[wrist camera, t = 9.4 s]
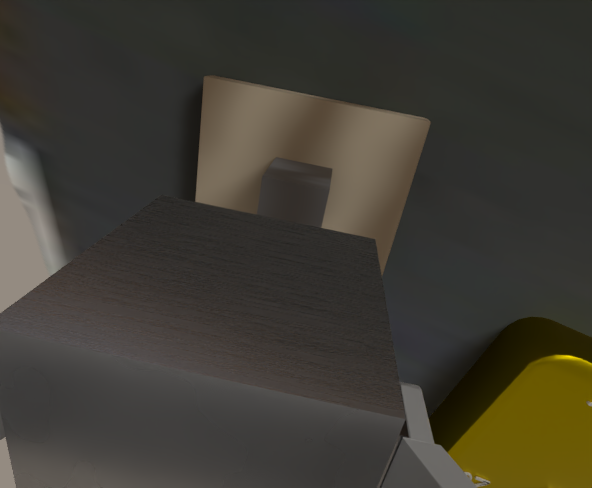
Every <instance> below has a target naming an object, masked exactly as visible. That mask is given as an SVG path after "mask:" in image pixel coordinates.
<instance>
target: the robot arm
mask: <svg viewBox="0 0 592 488" xmlns="http://www.w3.org/2000/svg"><path fill="white" fill-rule="evenodd" d="M399 383H400V389H401V395H402V401H403V406H404V412H405V418H406V420H405V422H404V424H403V427H402V429H401V432H400V434H399V436H398V439H397V441H396V443H395V446H394V448H393V451H392V453H391V455H390V458H389V460H388V462H387V465H386V467H385V470H384V472H383V474H382V477H381V479H380V481H379V484H378V486H377V488H477V487H476V485H475V484H474V483H473V482H472V481H471V480H470V478H469V477H468V476H467V475H466V474H465V473H464V472H463V470H462V469H461V468H460V467H459V466H458V465H457V463H456V462H455V461H454V460H453V459H452V458H451V456H450V455H449V454H448V453H447V452H446V451H445V450H444V448H443V447H442V446H441V445H437V444H434V440H433V436H432V431H431V427H430V423H429V419H428V415H427V411H426V406H425V402H424V398H423V394H422V390H421V388H420V387H419V386H418V385H413V384H408V383H403V382H399ZM4 437H6V436H5V431H4V427H3V422H2V417H1V413H0V440H1V439H3V438H4Z"/></svg>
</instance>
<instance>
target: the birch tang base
mask: <svg viewBox="0 0 592 488" xmlns="http://www.w3.org/2000/svg"><path fill="white" fill-rule="evenodd" d="M430 123H431V122H430V121H429V120H428V119H426V118H423V117H418V116H413V115H408V114H403V113H398V112H393V111H388V110H383V109H378V108H373V107H368V106H363V105H358V104H353V103H348V102H343V101H338V100H333V99H328V98H323V97H318V96H313V95H308V94H303V93H298V92H293V91H288V90H283V89H278V88H273V87H268V86H263V85H258V84H253V83H249V82H244V81H239V80H234V79H229V78H224V77H219V76H214V75H211V76H204V84H203V98H202V113H201V127H200V142H199V156H198V171H197V185H196V200H195V202H198V203H203V204H208V205H213V206H218V207H223V208H227V209H232V210H237V211H242V212H247V213H252V214H257V215H261V216H266V217H271V218H276V219H281V220H286V221H290V222H295V223H300V224H305V225H310V226H315V227H319V228H324V229H329V230H334V231H339V232H344V233H348V234H353V235H358V236H363V237H368V238H373V239H375V240H376V246H377V252H378V258H379V264H380V270H381V276H382V275H383V272H384V268H385V265H386V262H387V259H388V256H389V253H390V250H391V246H392V243H393V240H394V237H395V234H396V231H397V227H398V224H399V221H400V218H401V215H402V212H403V208H404V205H405V202H406V199H407V196H408V193H409V189H410V186H411V183H412V180H413V177H414V174H415V171H416V167H417V164H418V161H419V158H420V155H421V152H422V148H423V145H424V142H425V139H426V136H427V133H428V129H429V126H430Z"/></svg>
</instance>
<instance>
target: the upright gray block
mask: <svg viewBox="0 0 592 488" xmlns="http://www.w3.org/2000/svg"><path fill="white" fill-rule="evenodd" d="M0 413H1V417H2V422H3V427H4V431H5V436H6V440H7V445H8V450H9V454H10V459H11V464H12V469H13V474H14V478H15V483H16V488H377V486H378V484H379V481H380V479H381V477H382V474H383V472H384V470H385V467H386V465H387V462H388V460H389V458H390V455H391V453H392V451H393V448H394V446H395V443H396V441H397V439H398V436H399V434H400V432H401V429H402V427H403V424H404V422H405V420H406V418H405V412H404V406H403V401H402V395H401V389H400V383H399V377H398V371H397V365H396V359H395V353H394V347H393V341H392V335H391V329H390V323H389V317H388V311H387V305H386V299H385V293H384V287H383V282H382V276H381V270H380V264H379V258H378V252H377V246H376V240H375V239H373V238H368V237H363V236H358V235H353V234H348V233H344V232H339V231H334V230H329V229H324V228H319V227H315V226H310V225H305V224H300V223H295V222H290V221H286V220H281V219H276V218H271V217H266V216H261V215H257V214H252V213H247V212H242V211H237V210H232V209H227V208H223V207H218V206H213V205H208V204H203V203H198V202H194V201H189V200H184V199H179V198H174V197H169V196H165V195H160V196H159V197H158V198H156V199H155V200H154V201H152V202H151V203H150V204H148V205H147V206H146V207H144V208H143V209H141V210H140V211H139V212H137V213H136V214H135V215H133V216H132V217H131V218H129V219H128V220H127V221H125V222H124V223H122V224H121V225H120V226H118V227H117V228H116V229H114V230H113V231H112V232H110V233H109V234H108V235H106V236H105V237H103V238H102V239H101V240H99V241H98V242H97V243H95V244H94V245H93V246H91V247H90V248H89V249H87V250H86V251H84V252H83V253H82V254H80V255H79V256H78V257H76V258H75V259H74V260H72V261H71V262H69V263H68V264H67V265H65V266H64V267H63V268H61V269H60V270H59V271H57V272H56V273H55V274H53V275H52V276H50V277H49V278H48V279H46V280H45V281H44V282H42V283H41V284H40V285H38V286H37V287H36V288H34V289H33V290H32V291H30V292H29V293H27V294H26V295H25V296H24V297H22V298H21V299H19V300H18V301H17V302H15V303H14V304H13V305H11V306H10V307H8V308H7V309H6V310H4V311H3V312H2V313H0Z"/></svg>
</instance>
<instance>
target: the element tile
mask: <svg viewBox="0 0 592 488" xmlns="http://www.w3.org/2000/svg"><path fill="white" fill-rule="evenodd" d="M429 423H430V427H431V431H432V436H433V440H434V444H437V445H441V446H442V447H443V448H444V450H445V451H446V452H447V453H448V454H449V455H450V456H451V458H452V459H453V460H454V461H455V462H456V463H457V465H458V466H459V467H460V468H461V469H462V470H463V472H464V473H465V474H466V475H467V476H468V477H469V478H470V480H471V481H472V482H473V483H474V484H475V485H476V487H477V488H592V337H589V336H587V335H585V334H582V333H580V332H578V331H576V330H573V329H571V328H569V327H566V326H564V325H562V324H559V323H557V322H555V321H553V320H550V319H546V318H542V317H527V318H523V319H519V320H517V321H515V322H514V323H512V324H510V325H508V326H507V327H506V328H505V329H504V330H503V331H502V332H501V333H500V334H499V335H498V337H497V338H496V339H495V340H494V341H493V343H492V344H491V345H490V346H489V347H488V349H487V350H486V351H485V352H484V353H483V354H482V356H481V357H480V358H479V359H478V360H477V362H476V363H475V364H474V365H473V366H472V368H471V369H470V370H469V371H468V372H467V374H466V375H465V376H464V377H463V378H462V380H461V381H460V382H459V383H458V384H457V386H456V387H455V388H454V389H453V390H452V391H451V393H450V394H449V395H448V396H447V397H446V399H445V400H444V401H443V402H442V403H441V405H440V406H439V407H438V408H437V409H436V411H435V412H434V413H433V414H432V415H431V417H430V418H429Z"/></svg>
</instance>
